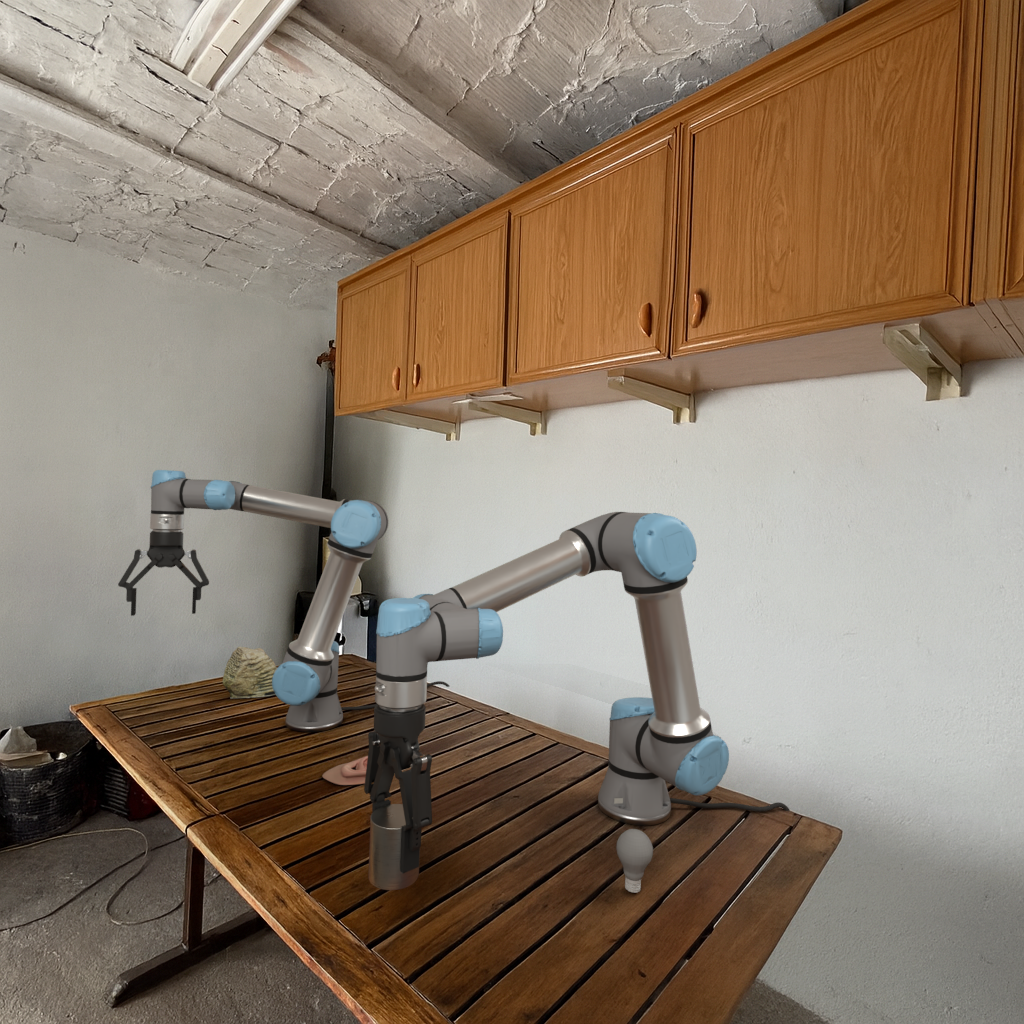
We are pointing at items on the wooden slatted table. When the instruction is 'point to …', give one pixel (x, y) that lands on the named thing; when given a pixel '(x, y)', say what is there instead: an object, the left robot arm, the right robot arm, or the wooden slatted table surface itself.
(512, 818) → the wooden slatted table surface
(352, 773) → the anatomical model
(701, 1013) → the wooden slatted table surface
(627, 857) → the light bulb
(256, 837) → the wooden slatted table surface
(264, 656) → the fossil
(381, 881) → the canister
